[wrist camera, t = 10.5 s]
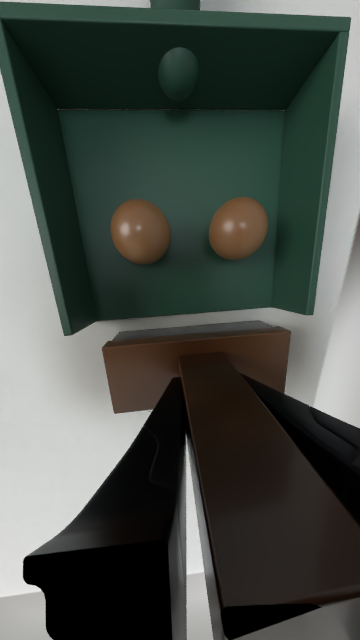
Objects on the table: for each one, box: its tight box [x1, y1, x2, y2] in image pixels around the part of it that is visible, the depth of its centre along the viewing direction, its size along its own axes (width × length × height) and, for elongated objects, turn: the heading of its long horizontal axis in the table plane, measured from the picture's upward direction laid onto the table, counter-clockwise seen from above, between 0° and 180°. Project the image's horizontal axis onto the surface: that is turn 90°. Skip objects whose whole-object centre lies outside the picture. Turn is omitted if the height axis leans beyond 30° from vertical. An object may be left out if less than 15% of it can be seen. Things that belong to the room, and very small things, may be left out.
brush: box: [102, 321, 360, 640], centre depth 7 cm, size 10×4×10 cm, turn 94°
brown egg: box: [110, 199, 171, 265], centre depth 9 cm, size 3×3×3 cm
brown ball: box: [209, 197, 268, 261], centre depth 9 cm, size 3×3×3 cm
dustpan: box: [0, 0, 351, 336], centre depth 8 cm, size 20×13×3 cm, turn 4°
